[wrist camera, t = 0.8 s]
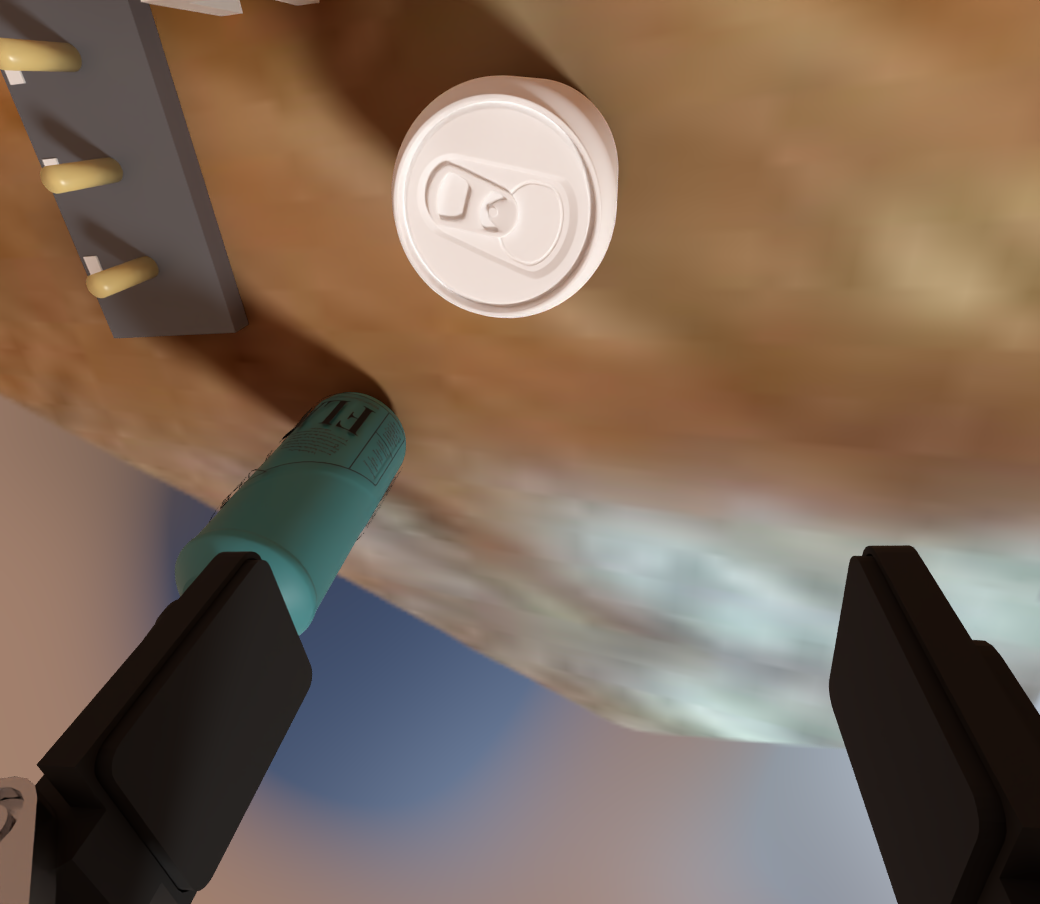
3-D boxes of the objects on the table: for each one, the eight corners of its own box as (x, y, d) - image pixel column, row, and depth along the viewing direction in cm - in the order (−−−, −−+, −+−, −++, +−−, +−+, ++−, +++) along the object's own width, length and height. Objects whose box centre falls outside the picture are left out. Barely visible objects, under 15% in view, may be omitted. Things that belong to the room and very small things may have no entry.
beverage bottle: (405, 374, 38) (229, 609, 21) (426, 468, 41) (288, 738, 24) (305, 381, 39) (61, 608, 22) (334, 471, 43) (140, 731, 25)
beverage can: (585, 275, 34) (569, 358, 24) (441, 226, 34) (361, 289, 23) (643, 111, 30) (655, 124, 19) (479, 53, 29) (403, 36, 19)
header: (-16, -29, 30) (-132, -50, 26) (131, -53, 29) (36, -80, 24) (130, 330, 39) (63, 363, 35) (248, 324, 38) (195, 358, 33)
